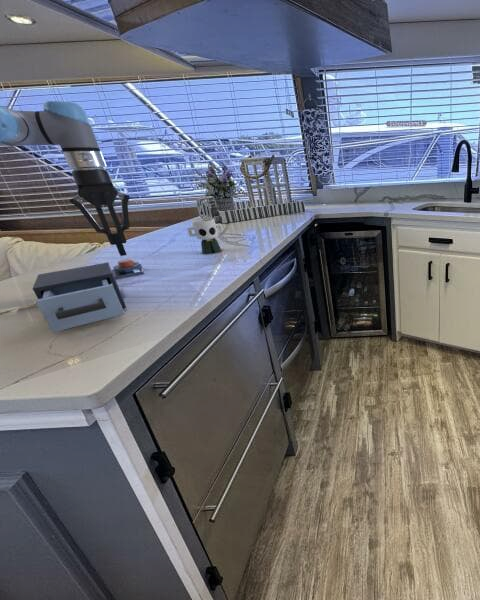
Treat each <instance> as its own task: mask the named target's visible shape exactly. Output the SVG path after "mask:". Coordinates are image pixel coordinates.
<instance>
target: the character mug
mask: <svg viewBox="0 0 480 600" xmlns="http://www.w3.org/2000/svg"><path fill="white" fill-rule="evenodd" d="M191 224H192V226H189V227H187V232H188V235H189V237H190V238H191V237H195V238H196V239H197V240H201V242H200V244H201V245H200V246H201V252H202V254H203V255H213V254H217V253H220V252H222V249H221V246H220V244H219V242H218V240H217V239H216V238H218V237H219V234H220V233H223V232H224V228H223V225H222V223H221V222H220V223H216V221H215V219H214V218H201V219H195V220H192V222H191ZM217 227H219V229H218V228H217ZM192 231H194V232H192Z"/></svg>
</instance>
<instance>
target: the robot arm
mask: <svg viewBox="0 0 480 600" xmlns="http://www.w3.org/2000/svg"><path fill="white" fill-rule="evenodd" d="M42 106H43V110H36V111H35V110H16V109H11V108H9V107H6V106H3V105H0V146H7V147H19V146H23V147H25V146H59V147H60V149H61V151H62V153H63V157H64V159H65V160H66V161H65V162H66V163H67V166H68V167H69V169H73V170H72V172H71V175H72V178H73V180H74V183H75V185H76V188H77V191H76V193H77V194H76V195H75V196H74V197H72V198H70V199H69V202H70V203H71V204H72V205H74V206H75V207H76V208H78V209H79V211H80V212H81V214H82V215H83V216H84V218H86V220H87V221H88V223H89V224H90V225H91V227H92V228H93V229H94V231H95V232H96V233H98V234H104V235H106V237H107V239H108V242H109V244H110V245H111V246H116V249H117V252H118V254H119V256H120V257H123V256H128V253H127V252H126V249H125V247H124V244H127V239H126V237H125V233H124V232H125V231H126V230H129V229H130V218H129V201H130V198H131V196H130V195H129V194H128V193H127V194H126V193H123V192H121V191H119V190H118V189H117V188H116V186H115V185H114V183H113V182H114V181H113V180H112V178H111V175H110V172H109V170H107V169H106V168H107V164H106V161H105V159H104V156H103V153H102V151H101V148H100V145H99V143H98V140H97V137H96V135H95V132H94V129H93V126H92V123H91V122H90V120H89V117H88V115H87V113H86V111H85V108H84V107H83V106H82V105H80V104H79V103H75V102H70V101H62V100H61V101H60V100H53V101H52V100H47V101H44V102H43V103H42ZM117 196H118V199H119V200H120V203H121V205H120V206H121V216H122V217H121V218H122V225H121V222H120V220H119V218H118V214H117V213H116V210H115V207H114V205H113V204H114V203H115V201H116V198H117ZM82 199H83V200H84V201H86V202H87V203H89V204H90V205H92V206H94V209H95V211H96V212H97V215H98V218H99V221H100V222H101V225H102V227H101V226H100V225H99V224H98V222H97V221H96V220H95V218H94V217H93V216H92V214H91V213H90V212H89V211H88V210H87V208H86V206H84V205H83V204H84V201H83V200H82ZM102 206H106V207H107V210H108V212H109V215H110V217H111V220H112V222H113V225H114V227H115V230H116V232H112V231H111V228H110V226H109V223H108V220H107V218H106V216H105V213H104V210H103V208H102Z"/></svg>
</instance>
